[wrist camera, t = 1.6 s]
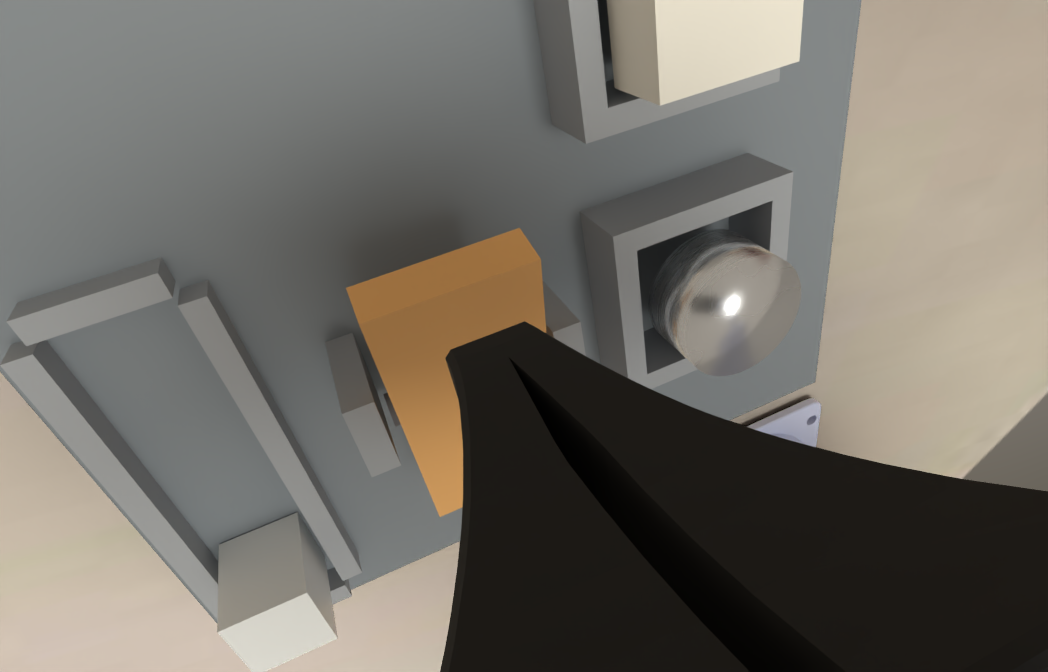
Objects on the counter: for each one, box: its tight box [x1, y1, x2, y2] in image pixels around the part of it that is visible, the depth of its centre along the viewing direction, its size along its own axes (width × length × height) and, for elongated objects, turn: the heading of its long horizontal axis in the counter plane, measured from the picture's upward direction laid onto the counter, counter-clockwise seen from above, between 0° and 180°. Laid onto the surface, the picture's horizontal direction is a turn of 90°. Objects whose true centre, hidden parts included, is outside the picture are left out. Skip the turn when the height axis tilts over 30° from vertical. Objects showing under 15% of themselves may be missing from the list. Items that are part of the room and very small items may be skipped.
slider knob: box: [217, 512, 338, 672], centre depth 17 cm, size 2×2×3 cm
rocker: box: [346, 228, 546, 517], centre depth 15 cm, size 8×4×1 cm, turn 11°
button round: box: [648, 229, 801, 376], centre depth 17 cm, size 3×3×2 cm
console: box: [0, 0, 861, 624], centre depth 16 cm, size 18×22×5 cm
